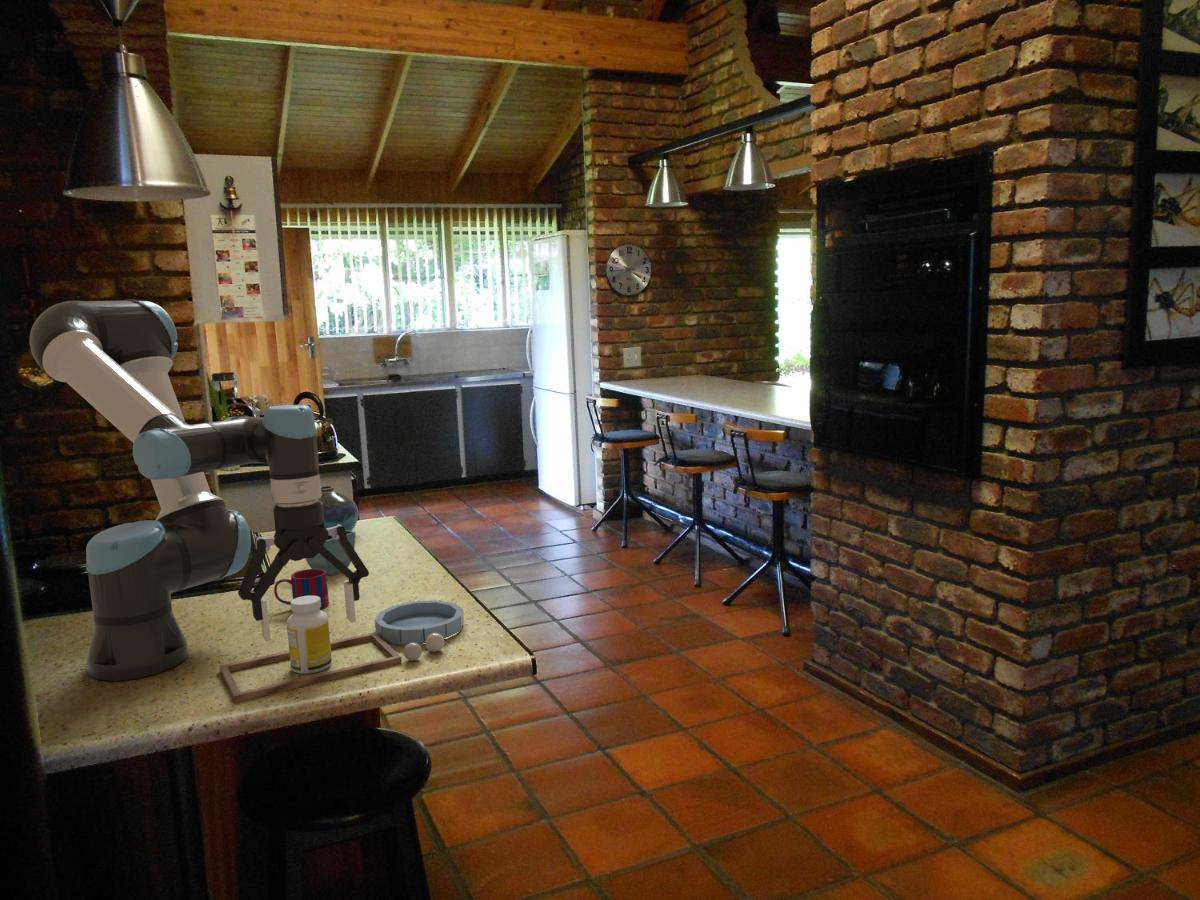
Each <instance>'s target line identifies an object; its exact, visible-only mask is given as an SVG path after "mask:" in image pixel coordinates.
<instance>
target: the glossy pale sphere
mask: <svg viewBox="0 0 1200 900" xmlns="http://www.w3.org/2000/svg"><path fill="white" fill-rule="evenodd" d="M421 646H422V645H419V644H417V643H414V642H412V643H409V644H407V645H406V646H404V648H403V655H404V658H405V660H407V661H410V662H411V661H412V662H413V661H414V660H415V661H417V660H420V658H421V656H422V654H423V649H422V647H421Z"/></svg>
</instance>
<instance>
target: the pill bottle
mask: <svg viewBox="0 0 1200 900" xmlns="http://www.w3.org/2000/svg"><path fill="white" fill-rule="evenodd" d="M290 601H291V605H290V611H291V612H292V614H291V615H289V617H288V618H287V621H286V631H287V642H288V651H289V653H290V659H289V660H290V661H289V662H290V669H291V670H292V671H293V672H295V673H297V674H303V675H304V674H305V675H307V674H314V673H318V672H322V671H324V670H327V668H329V667H330V666H331V664H332V661H333V659H332V649H331V647H330V642H331V639H330V638H331V636H330V628H329V625H330V624H329V617H328V615H327V613H326V612H325V611H323V610H322V609H321V610H320V607H321V599H320V597H318V596H302V597H298V598H295V599H293V598H292V600H290Z"/></svg>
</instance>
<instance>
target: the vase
mask: <svg viewBox="0 0 1200 900" xmlns="http://www.w3.org/2000/svg"><path fill="white" fill-rule="evenodd" d="M321 494H322V496H321V497H320V499H318V500H320V501H321V502H322V504H323V515H324V525H325V528H331V527H334V526H335V525H336V524H340V525H341V526H343V527H344V528H345V530H348V531H354V528H355V527H356V525H357V523H358V518H359V509H358V506H357V504H356V502H355V501H354V500H353V499H352V498H351V497H350V496H348V495H346V494H345V493H342V492H340V491H337V490H336V489H335V488H334V486H333V485H324V486H321Z"/></svg>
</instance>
